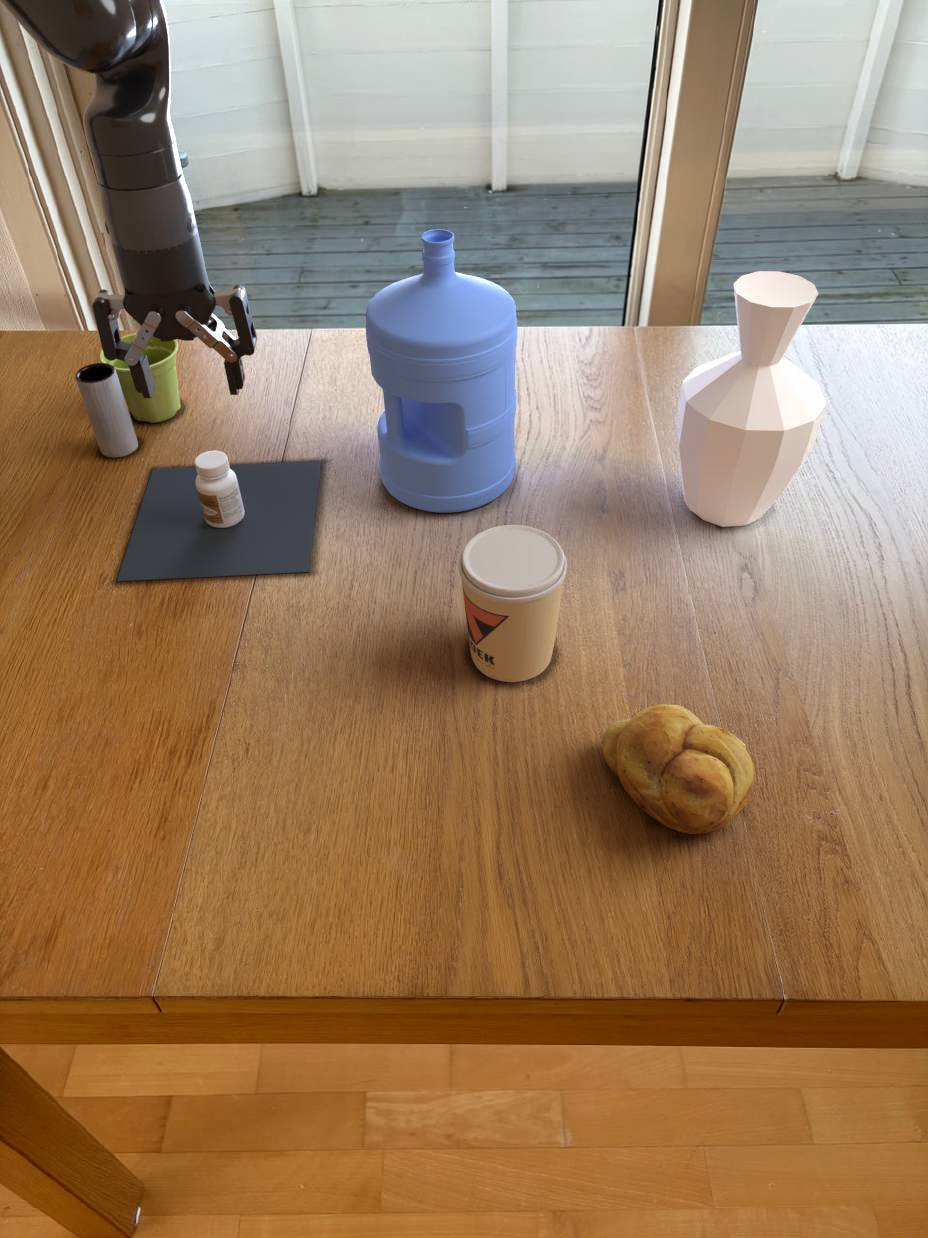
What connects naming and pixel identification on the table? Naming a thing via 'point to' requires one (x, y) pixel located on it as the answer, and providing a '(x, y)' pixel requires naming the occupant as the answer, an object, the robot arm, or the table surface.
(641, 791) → the bread roll
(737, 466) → the vase
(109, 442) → the white cylinder
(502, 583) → the coffee cup
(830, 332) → the table surface
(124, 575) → the mat
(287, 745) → the table surface
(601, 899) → the table surface
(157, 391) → the plant pot
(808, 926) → the table surface
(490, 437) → the water jug
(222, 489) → the pill bottle
